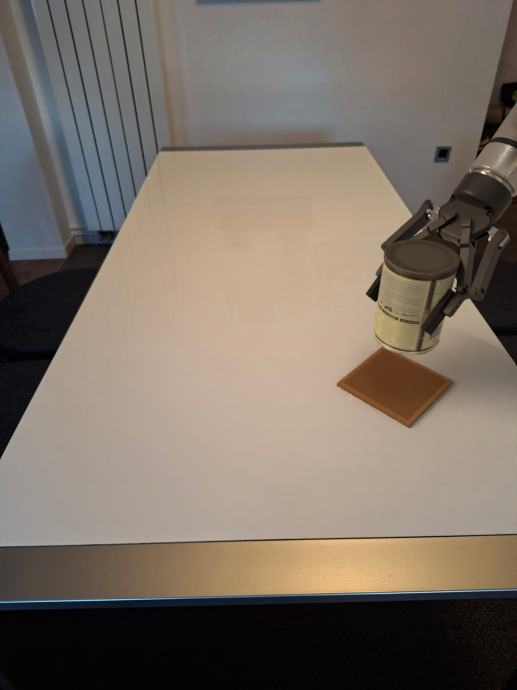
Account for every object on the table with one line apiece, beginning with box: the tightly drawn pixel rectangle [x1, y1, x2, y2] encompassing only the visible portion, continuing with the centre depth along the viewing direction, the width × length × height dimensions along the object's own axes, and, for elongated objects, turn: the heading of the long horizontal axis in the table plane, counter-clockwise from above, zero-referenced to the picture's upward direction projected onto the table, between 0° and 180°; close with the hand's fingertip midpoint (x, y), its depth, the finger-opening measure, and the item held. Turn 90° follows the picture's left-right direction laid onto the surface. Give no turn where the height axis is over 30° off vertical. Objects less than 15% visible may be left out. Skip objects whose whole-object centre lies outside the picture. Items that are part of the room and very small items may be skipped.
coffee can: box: [372, 239, 460, 356], centre depth 73 cm, size 10×10×14 cm
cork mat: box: [336, 346, 454, 429], centre depth 84 cm, size 14×14×1 cm
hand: (397, 314), depth 73 cm, fingers closed on coffee can, 10 cm apart
